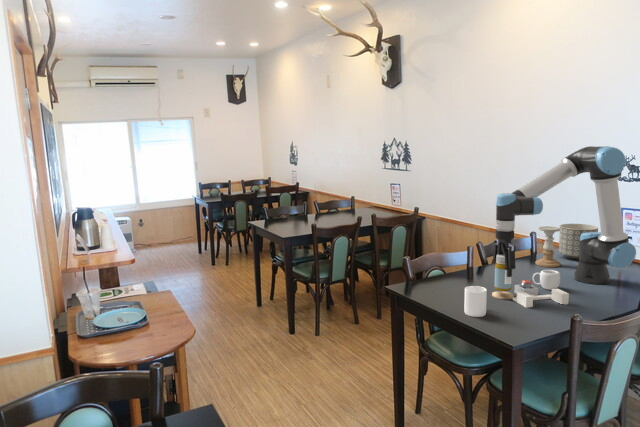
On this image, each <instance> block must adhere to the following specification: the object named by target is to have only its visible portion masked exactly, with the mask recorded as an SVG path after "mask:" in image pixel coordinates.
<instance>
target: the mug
mask: <svg viewBox="0 0 640 427" xmlns="http://www.w3.org/2000/svg"><path fill="white" fill-rule="evenodd" d="M536 275H539V282H536V281H535V276H536ZM532 282H533V283H534V284H535V285H540V286H541V287H542V288H543V289H544V290H550V291H552V289H559V288H558V287H559V286H560V283H561V274H560V272H559V271H557V270H555V269H554V270H553V269H543V270H541V271H540V272H535V273H533V275H532Z"/></svg>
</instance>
